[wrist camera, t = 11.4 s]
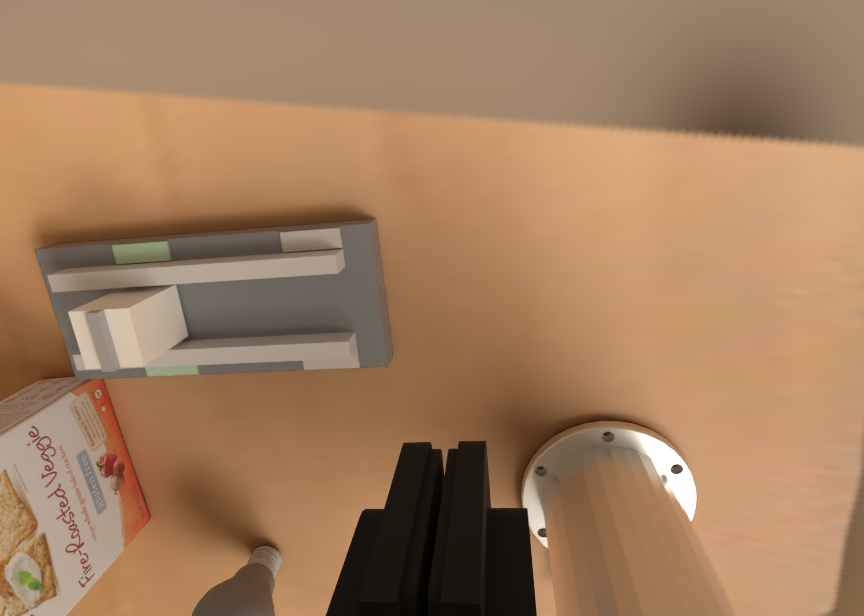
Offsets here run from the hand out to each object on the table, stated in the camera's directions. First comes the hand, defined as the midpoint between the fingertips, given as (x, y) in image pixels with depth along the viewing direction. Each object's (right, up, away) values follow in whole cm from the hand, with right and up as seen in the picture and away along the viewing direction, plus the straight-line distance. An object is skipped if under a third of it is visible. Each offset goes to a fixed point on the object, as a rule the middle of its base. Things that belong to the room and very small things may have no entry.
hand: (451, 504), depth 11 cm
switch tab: (-20, +4, +27) cm, 34 cm away
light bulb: (-14, -17, +36) cm, 43 cm away
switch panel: (-16, +5, +29) cm, 33 cm away
